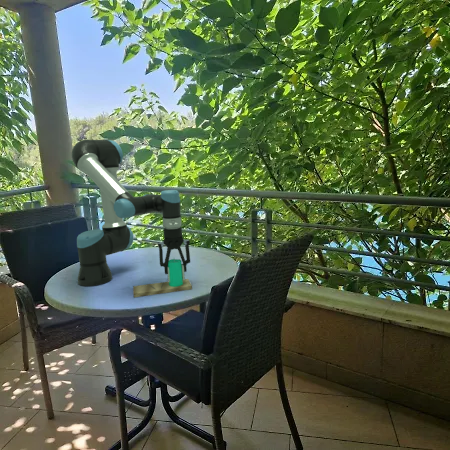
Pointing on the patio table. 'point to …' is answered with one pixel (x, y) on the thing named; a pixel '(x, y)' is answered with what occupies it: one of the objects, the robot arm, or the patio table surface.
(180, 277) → the candle
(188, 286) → the oak board
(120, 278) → the patio table surface
